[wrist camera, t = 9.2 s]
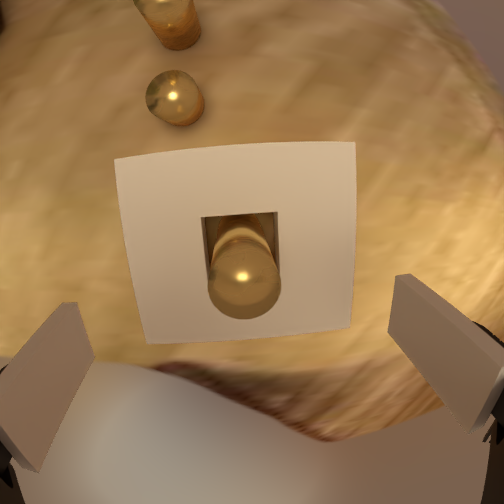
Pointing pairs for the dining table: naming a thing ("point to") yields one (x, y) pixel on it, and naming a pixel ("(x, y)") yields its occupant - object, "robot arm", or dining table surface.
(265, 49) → the dining table surface
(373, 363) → the dining table surface
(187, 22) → the pin medium
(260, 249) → the pin long
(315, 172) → the white block with hole
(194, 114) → the pin short
